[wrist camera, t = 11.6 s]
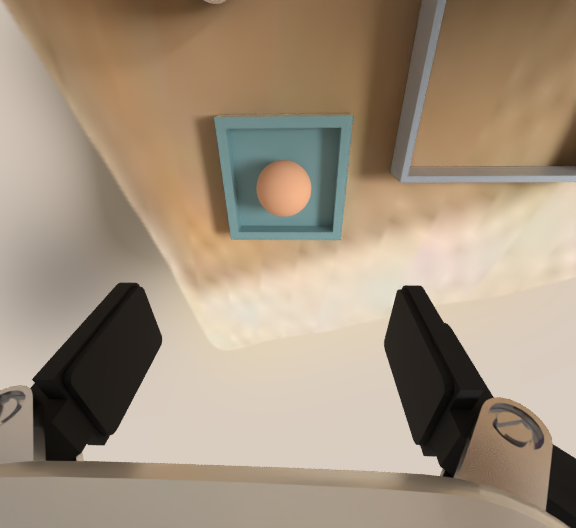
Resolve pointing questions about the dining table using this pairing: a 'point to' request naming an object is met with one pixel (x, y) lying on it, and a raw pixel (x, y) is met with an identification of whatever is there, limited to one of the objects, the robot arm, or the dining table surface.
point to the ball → (283, 188)
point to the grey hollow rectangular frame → (412, 112)
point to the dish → (294, 147)
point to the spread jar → (215, 1)
